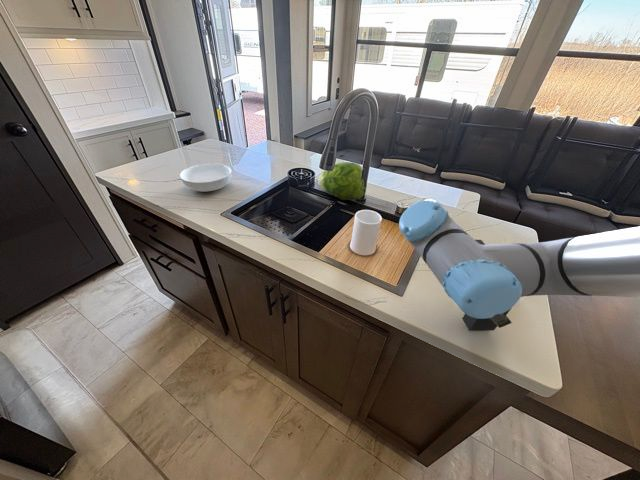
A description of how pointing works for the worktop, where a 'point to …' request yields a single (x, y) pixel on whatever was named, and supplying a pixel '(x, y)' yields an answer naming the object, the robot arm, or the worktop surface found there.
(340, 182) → the lettuce
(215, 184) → the serving bowl
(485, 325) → the black orange-striped block
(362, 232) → the mug
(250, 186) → the worktop surface
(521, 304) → the worktop surface
